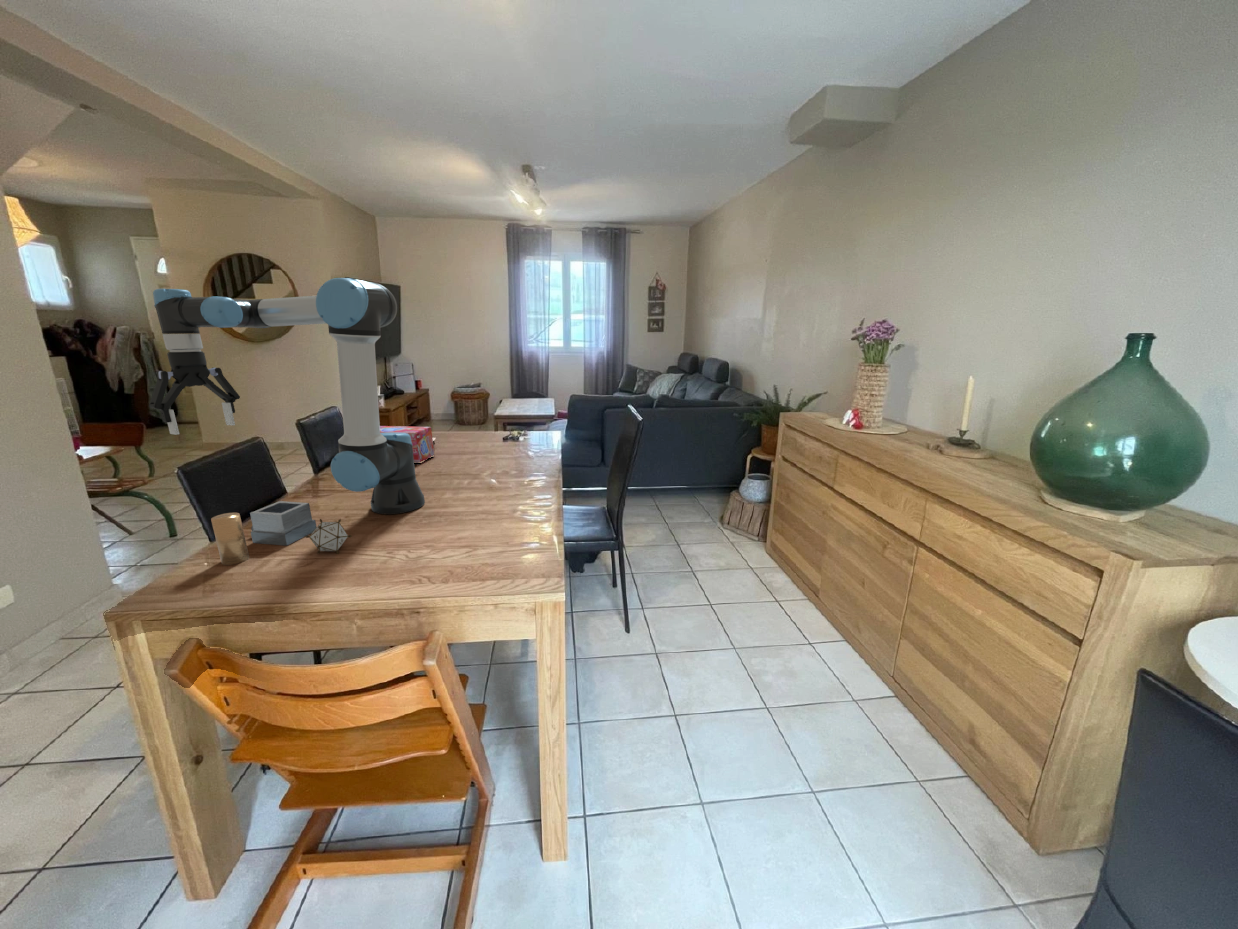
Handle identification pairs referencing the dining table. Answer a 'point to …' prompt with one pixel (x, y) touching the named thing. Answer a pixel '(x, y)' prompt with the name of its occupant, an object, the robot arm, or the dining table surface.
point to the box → (416, 440)
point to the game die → (328, 536)
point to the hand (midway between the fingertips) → (204, 429)
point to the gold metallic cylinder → (230, 538)
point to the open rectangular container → (282, 523)
